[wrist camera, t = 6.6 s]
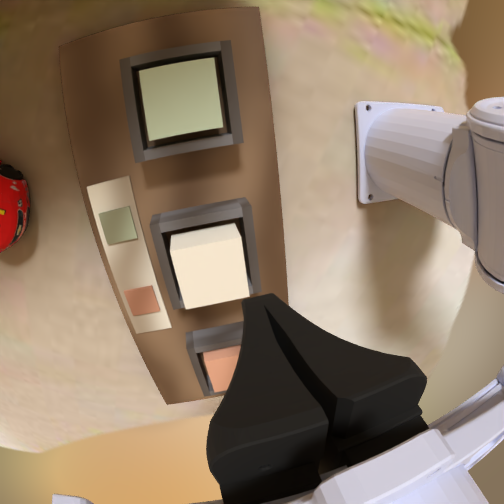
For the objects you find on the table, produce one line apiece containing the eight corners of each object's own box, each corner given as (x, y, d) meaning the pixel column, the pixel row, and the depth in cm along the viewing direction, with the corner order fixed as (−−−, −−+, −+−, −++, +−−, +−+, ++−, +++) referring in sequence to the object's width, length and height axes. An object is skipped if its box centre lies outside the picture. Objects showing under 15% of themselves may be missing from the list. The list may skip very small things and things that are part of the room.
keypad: (255, 11, 15) (266, -4, 13) (289, 372, 30) (298, 393, 27) (64, 49, 14) (46, 40, 11) (166, 397, 28) (167, 420, 25)
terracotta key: (249, 331, 25) (255, 350, 22) (254, 363, 26) (260, 382, 24) (201, 341, 24) (204, 361, 22) (211, 372, 26) (214, 392, 24)
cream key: (234, 222, 19) (241, 237, 17) (242, 277, 21) (249, 296, 19) (171, 234, 18) (170, 251, 16) (184, 289, 20) (185, 309, 18)
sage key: (210, 64, 16) (213, 57, 13) (218, 126, 17) (223, 127, 15) (144, 76, 15) (139, 70, 13) (154, 138, 17) (149, 140, 15)
